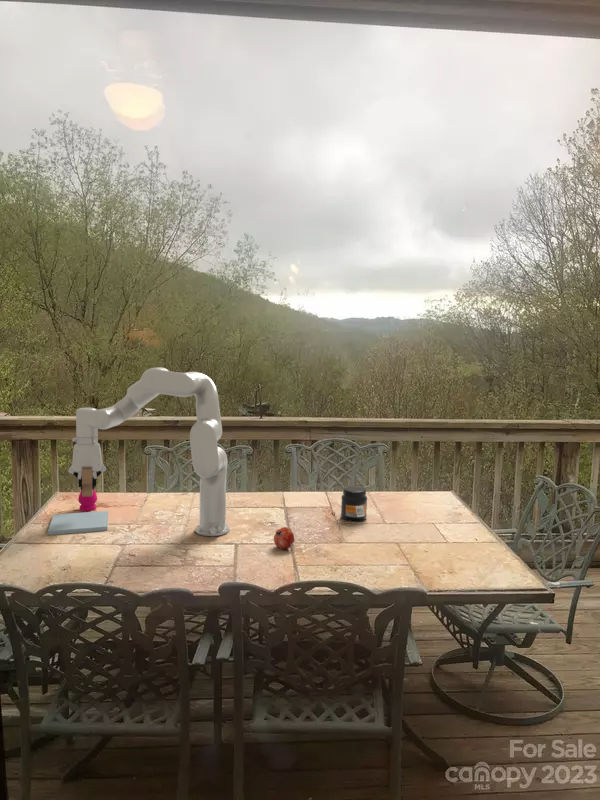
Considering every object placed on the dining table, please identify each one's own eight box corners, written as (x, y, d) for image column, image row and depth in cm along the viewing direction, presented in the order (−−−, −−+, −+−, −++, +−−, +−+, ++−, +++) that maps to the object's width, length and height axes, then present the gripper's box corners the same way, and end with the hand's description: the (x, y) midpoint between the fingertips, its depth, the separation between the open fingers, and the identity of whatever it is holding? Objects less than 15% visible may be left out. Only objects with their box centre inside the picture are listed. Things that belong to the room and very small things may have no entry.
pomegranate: (282, 549, 193) (263, 536, 188) (294, 531, 194) (276, 518, 189) (293, 558, 187) (274, 545, 182) (305, 540, 188) (287, 527, 183)
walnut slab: (92, 496, 205) (91, 467, 204) (82, 496, 204) (81, 467, 203) (92, 491, 211) (92, 463, 210) (83, 491, 210) (82, 463, 209)
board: (107, 530, 201) (107, 526, 201) (47, 535, 195) (47, 531, 195) (108, 514, 220) (108, 510, 220) (53, 518, 214) (53, 514, 214)
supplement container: (363, 523, 217) (364, 493, 216) (337, 519, 220) (338, 490, 219) (368, 515, 227) (370, 487, 226) (344, 512, 230) (345, 484, 229)
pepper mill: (90, 505, 231) (90, 459, 229) (100, 509, 227) (100, 461, 225) (74, 509, 225) (74, 461, 223) (85, 513, 221) (84, 464, 219)
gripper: (62, 443, 199) (62, 492, 201) (110, 441, 205) (110, 490, 206) (64, 439, 206) (64, 487, 208) (110, 438, 212) (110, 485, 213)
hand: (87, 488), depth 207 cm, fingers closed on walnut slab, 3 cm apart
